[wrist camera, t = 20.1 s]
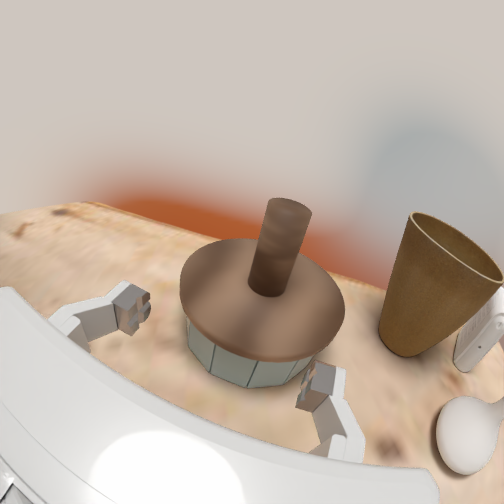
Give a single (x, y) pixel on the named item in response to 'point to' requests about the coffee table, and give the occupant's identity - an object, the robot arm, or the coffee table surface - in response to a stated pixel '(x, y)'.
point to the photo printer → (480, 333)
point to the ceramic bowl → (240, 364)
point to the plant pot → (434, 285)
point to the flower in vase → (468, 433)
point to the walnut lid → (263, 291)
